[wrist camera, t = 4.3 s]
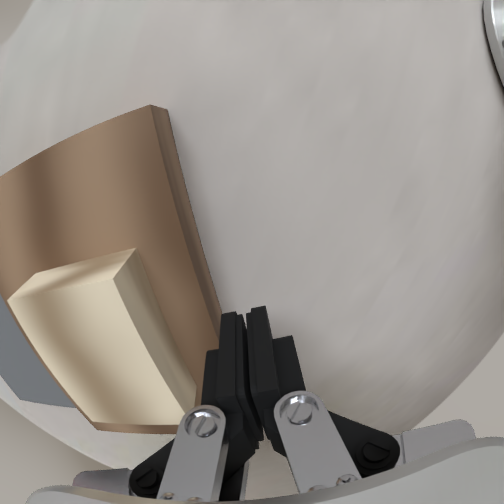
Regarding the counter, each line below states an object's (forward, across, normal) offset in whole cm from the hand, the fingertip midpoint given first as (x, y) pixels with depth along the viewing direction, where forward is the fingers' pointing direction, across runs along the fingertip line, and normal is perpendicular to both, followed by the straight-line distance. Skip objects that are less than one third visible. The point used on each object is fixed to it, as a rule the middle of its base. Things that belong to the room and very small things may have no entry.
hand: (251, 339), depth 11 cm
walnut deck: (+4, +8, 0) cm, 9 cm away
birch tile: (+2, +7, 0) cm, 7 cm away
